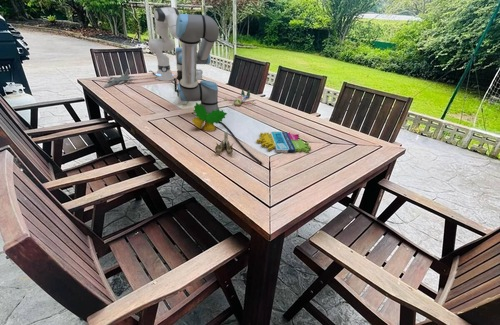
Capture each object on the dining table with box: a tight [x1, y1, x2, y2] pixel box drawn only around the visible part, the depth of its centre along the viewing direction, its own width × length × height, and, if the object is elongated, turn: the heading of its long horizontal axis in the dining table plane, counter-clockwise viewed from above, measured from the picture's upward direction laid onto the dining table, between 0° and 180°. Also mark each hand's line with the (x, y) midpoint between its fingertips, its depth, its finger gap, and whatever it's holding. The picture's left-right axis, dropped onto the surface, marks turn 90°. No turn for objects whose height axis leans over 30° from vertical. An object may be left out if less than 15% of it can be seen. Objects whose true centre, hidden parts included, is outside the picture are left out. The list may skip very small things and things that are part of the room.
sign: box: [256, 131, 312, 154], centre depth 152 cm, size 26×2×30 cm
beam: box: [178, 96, 188, 105], centre depth 224 cm, size 59×6×8 cm, turn 4°
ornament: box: [191, 101, 228, 132], centre depth 162 cm, size 21×8×15 cm, turn 105°
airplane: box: [102, 68, 138, 88], centre depth 247 cm, size 38×31×10 cm
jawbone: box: [214, 131, 234, 156], centre depth 136 cm, size 9×15×10 cm
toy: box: [223, 89, 257, 106], centre depth 219 cm, size 28×7×30 cm
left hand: (191, 84), depth 245 cm, fingers closed on beam, 5 cm apart
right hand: (184, 100), depth 205 cm, fingers closed on beam, 6 cm apart
